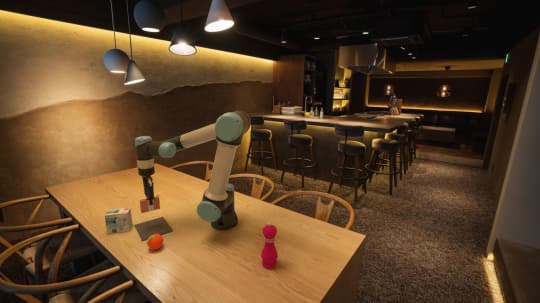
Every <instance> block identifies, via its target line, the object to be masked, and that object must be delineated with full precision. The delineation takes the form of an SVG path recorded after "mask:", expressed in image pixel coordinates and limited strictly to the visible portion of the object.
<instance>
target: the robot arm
mask: <svg viewBox="0 0 540 303" xmlns="http://www.w3.org/2000/svg"><path fill="white" fill-rule="evenodd" d="M251 125H252V121H251V118H250V116H249V115H248V114H247V113H246V112H244V111H242V110H234V111H231V112H226V113H223V114H221V115H220V116H219V117H218V118H217V119H216V122H214V123H212V124H208V125H206V126H204V127H201V128H198V129H195V130H192V131H190V132H186V133H184V134H181V135H178V136H174V137H173V138H168V139H166V140H161V141H155V140H153V139H152V137H151V136H149V135H141V136H138V137H136V138H134V147H135V153H136V163H137V172H138V173H137V174H138V175H139V176H140V177H141V178H142V185H143V192H144V196H145V199H146V200H147V201H148V210H149V212H153V211H155V210H154V201H153V199H154V197H155V190H154V188H155V187H154V180H153V177H152V175H155V173H156V168H155V162H154V161H156V160H155V158H164V159H168V158H169V159H171V158H173V157H175V155H176V153H177V152H179V151H183V150H187V149H188V148H191V147H195V146H197V145H200V144H204V143H208V142H209V141H213V140H215V141H216V142H217V147H216V151H215V156H214V160H213V163H212V164H213V165H212V170H211V174H210V178H209V183H208V185H207V186H208V187H207V188H206V189H204V191H203V195H202V199H201V200H200V202H199V203H198V205H197V206H196V213H197V215H198V216H199V217H200V218H199V219H201V220H202V221H204V222H206V223H210V226H211V227H212V228H213V229H215V230H218V231H226V230H230V229H233V228H235V227H236V226H238V223H239V219H238V218H239V217H238V215H237V213H236V212H237V211H236V210H235V187H234V184H232V183H229V181H230V180H229V179H230V177H231V172H232V167H233V164H234V160H235V157H236V156H235V155H236V152H237V149H238V147H241V145H242V142H243V137H244V135H245V134H246V133H247V132H249V130H250V128H251ZM154 157H155V158H154ZM147 198H148V199H147ZM152 210H153V211H152Z"/></svg>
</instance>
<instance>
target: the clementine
mask: <svg viewBox="0 0 540 303" xmlns="http://www.w3.org/2000/svg"><path fill="white" fill-rule="evenodd" d="M163 243H164V238H163V236H162V235H160V234H153V235H151V236H150V237H149V238H148V239H147V240H146V243H145V245H147V247H148V248H149V249H151V250H154V251H155V250H159V249H160V248H161V247H162V246H163V245H164V244H163Z"/></svg>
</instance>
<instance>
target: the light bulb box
mask: <svg viewBox="0 0 540 303" xmlns="http://www.w3.org/2000/svg"><path fill="white" fill-rule="evenodd" d="M104 221H105V228H106V234H107V235H109V234H119V233H129V232H130V231H131V230H132V228H133V225H134V224H133V216H132V208H131V207H121V208H112V209H110V208H109V209H108V210H107V212H106V213H105V214H104Z"/></svg>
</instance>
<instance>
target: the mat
mask: <svg viewBox="0 0 540 303" xmlns="http://www.w3.org/2000/svg"><path fill="white" fill-rule="evenodd" d="M133 225H134V228H135V229H136V232H137V235H138V236H139V238H140V241H141V242H143V241H147V240H148V238H149V237H150V236H151V235H153V234H160V235H161V236H162V235H165V234H168V233H172V232H174V230H173V228H172V227H171V225H170V223H169V222H167V220H166V219H165V217H164V216H161V217H160V216H159V217H157V218H153V219H150V220H147V221H143V222H139V223H135V224H133Z"/></svg>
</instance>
